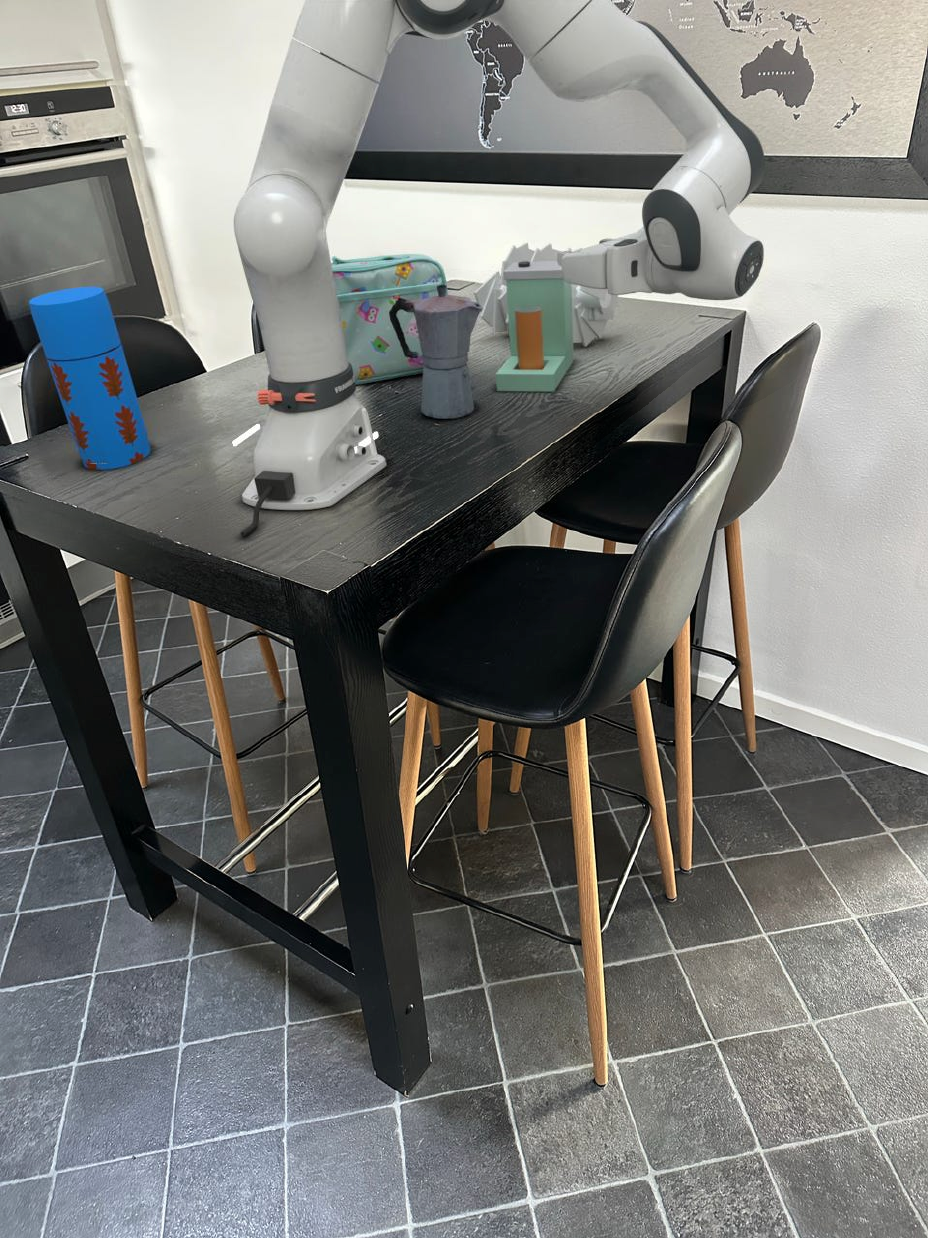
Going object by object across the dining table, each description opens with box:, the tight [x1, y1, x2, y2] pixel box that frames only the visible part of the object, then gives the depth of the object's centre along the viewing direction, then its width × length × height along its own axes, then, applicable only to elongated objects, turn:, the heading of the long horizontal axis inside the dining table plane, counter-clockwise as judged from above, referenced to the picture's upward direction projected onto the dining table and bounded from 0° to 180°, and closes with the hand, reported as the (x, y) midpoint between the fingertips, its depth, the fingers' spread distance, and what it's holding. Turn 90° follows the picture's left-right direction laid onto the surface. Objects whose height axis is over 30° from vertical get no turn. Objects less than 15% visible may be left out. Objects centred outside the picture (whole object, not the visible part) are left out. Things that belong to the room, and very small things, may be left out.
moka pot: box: [389, 285, 483, 420], centre depth 144 cm, size 10×15×20 cm, turn 78°
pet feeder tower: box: [504, 261, 575, 373], centre depth 160 cm, size 7×11×18 cm, turn 73°
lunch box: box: [331, 253, 449, 386], centre depth 163 cm, size 27×10×21 cm, turn 102°
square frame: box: [495, 355, 567, 393], centre depth 157 cm, size 10×10×3 cm
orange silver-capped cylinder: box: [515, 305, 544, 370], centre depth 155 cm, size 4×4×12 cm
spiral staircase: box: [473, 242, 619, 348], centre depth 174 cm, size 18×18×25 cm
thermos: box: [28, 286, 151, 471], centre depth 139 cm, size 11×11×25 cm
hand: (581, 251), depth 138 cm, fingers open, 8 cm apart
